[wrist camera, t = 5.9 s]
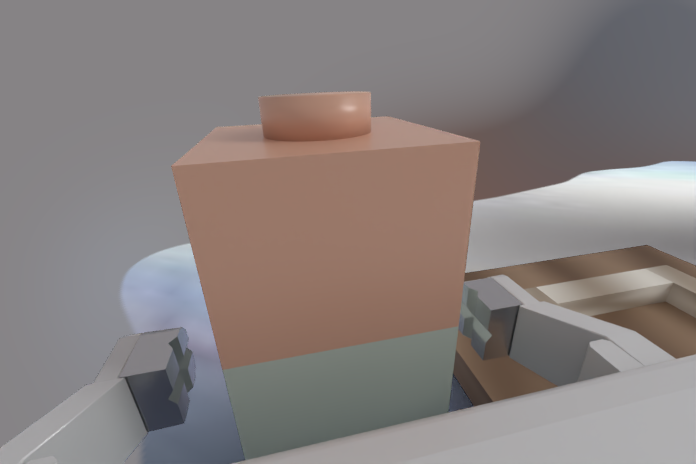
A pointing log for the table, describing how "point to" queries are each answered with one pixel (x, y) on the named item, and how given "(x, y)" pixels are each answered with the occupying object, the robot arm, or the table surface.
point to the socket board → (591, 310)
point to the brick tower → (330, 265)
